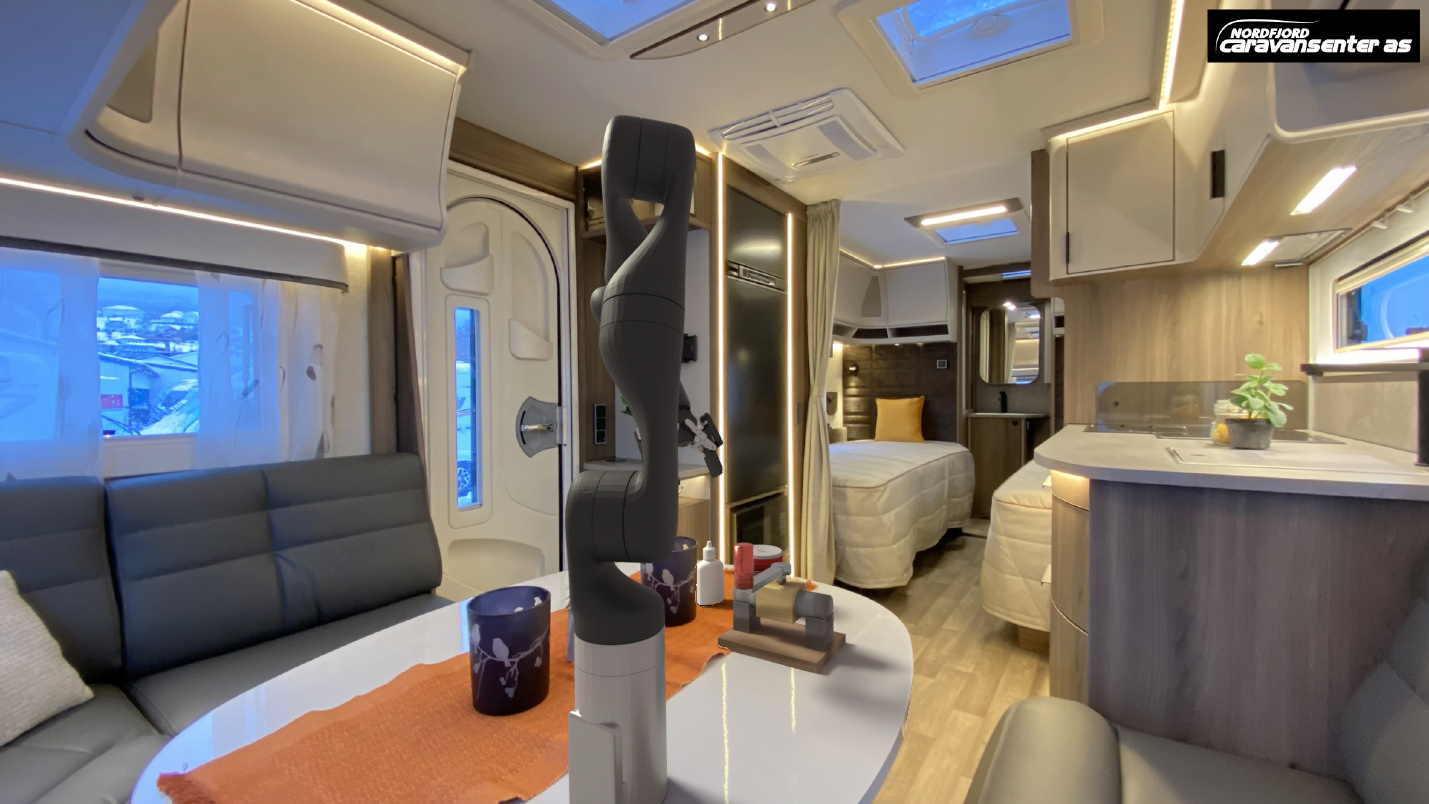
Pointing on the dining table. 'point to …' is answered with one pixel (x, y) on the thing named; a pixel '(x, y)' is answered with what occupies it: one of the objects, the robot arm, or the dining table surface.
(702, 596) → the eye dropper bottle
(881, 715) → the dining table surface
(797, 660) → the valve stand
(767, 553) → the canned food
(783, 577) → the valve lever
